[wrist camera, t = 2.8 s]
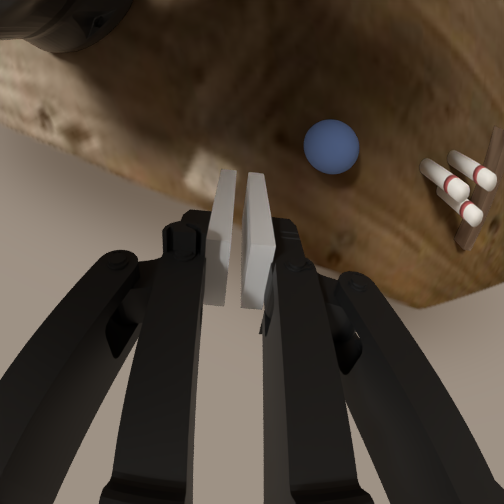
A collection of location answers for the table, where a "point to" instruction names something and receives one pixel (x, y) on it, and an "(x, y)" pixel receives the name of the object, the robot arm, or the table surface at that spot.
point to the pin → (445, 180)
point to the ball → (331, 146)
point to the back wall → (497, 161)
